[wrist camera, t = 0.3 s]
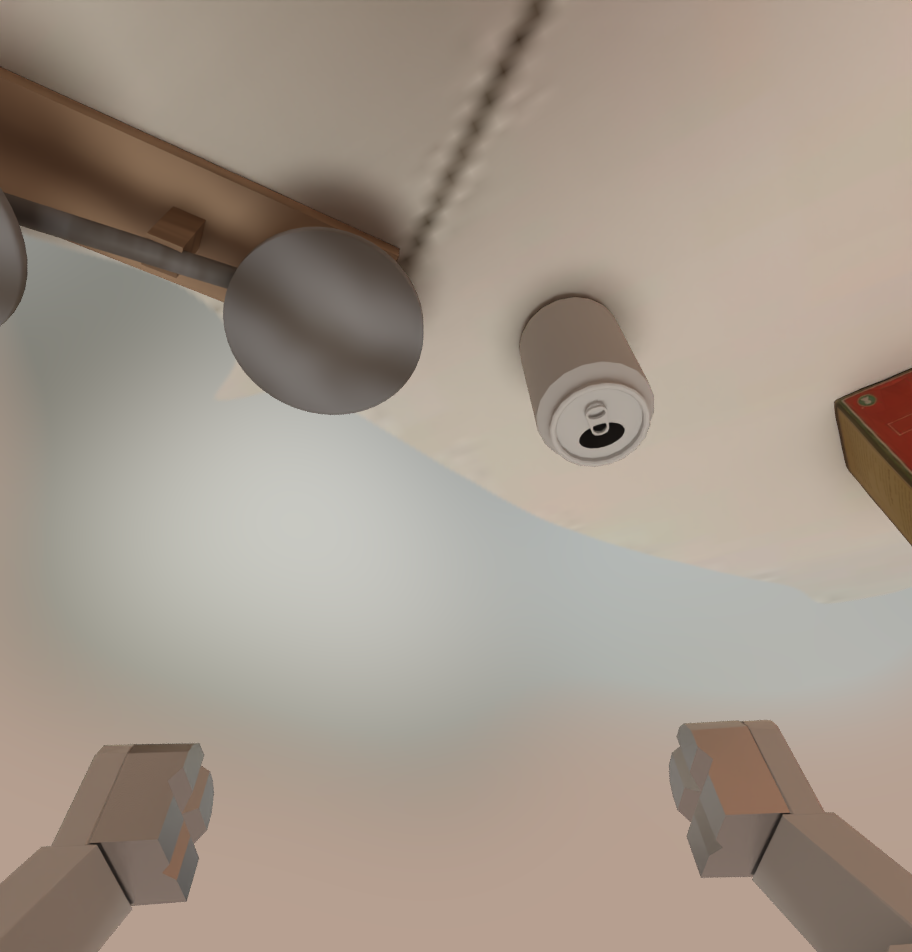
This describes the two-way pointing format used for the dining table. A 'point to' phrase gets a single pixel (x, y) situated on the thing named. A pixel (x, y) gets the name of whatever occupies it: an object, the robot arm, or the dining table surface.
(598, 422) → the can
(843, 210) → the dining table surface
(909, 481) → the food packaging
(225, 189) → the scale
